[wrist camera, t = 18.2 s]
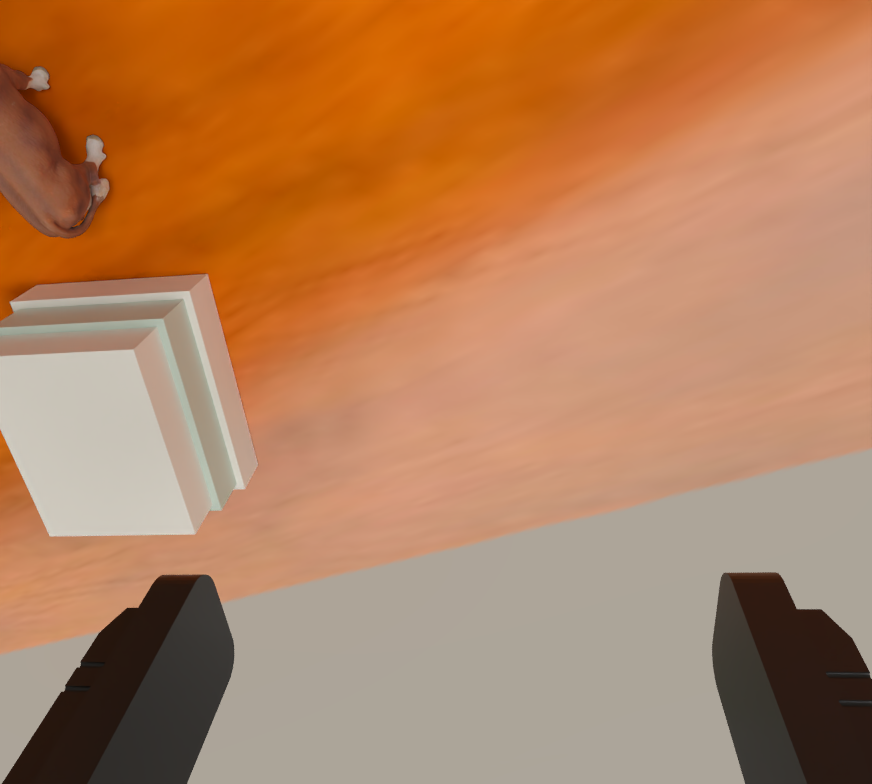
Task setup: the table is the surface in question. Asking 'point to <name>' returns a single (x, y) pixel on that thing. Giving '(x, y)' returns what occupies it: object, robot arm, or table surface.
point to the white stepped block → (123, 405)
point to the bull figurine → (44, 163)
